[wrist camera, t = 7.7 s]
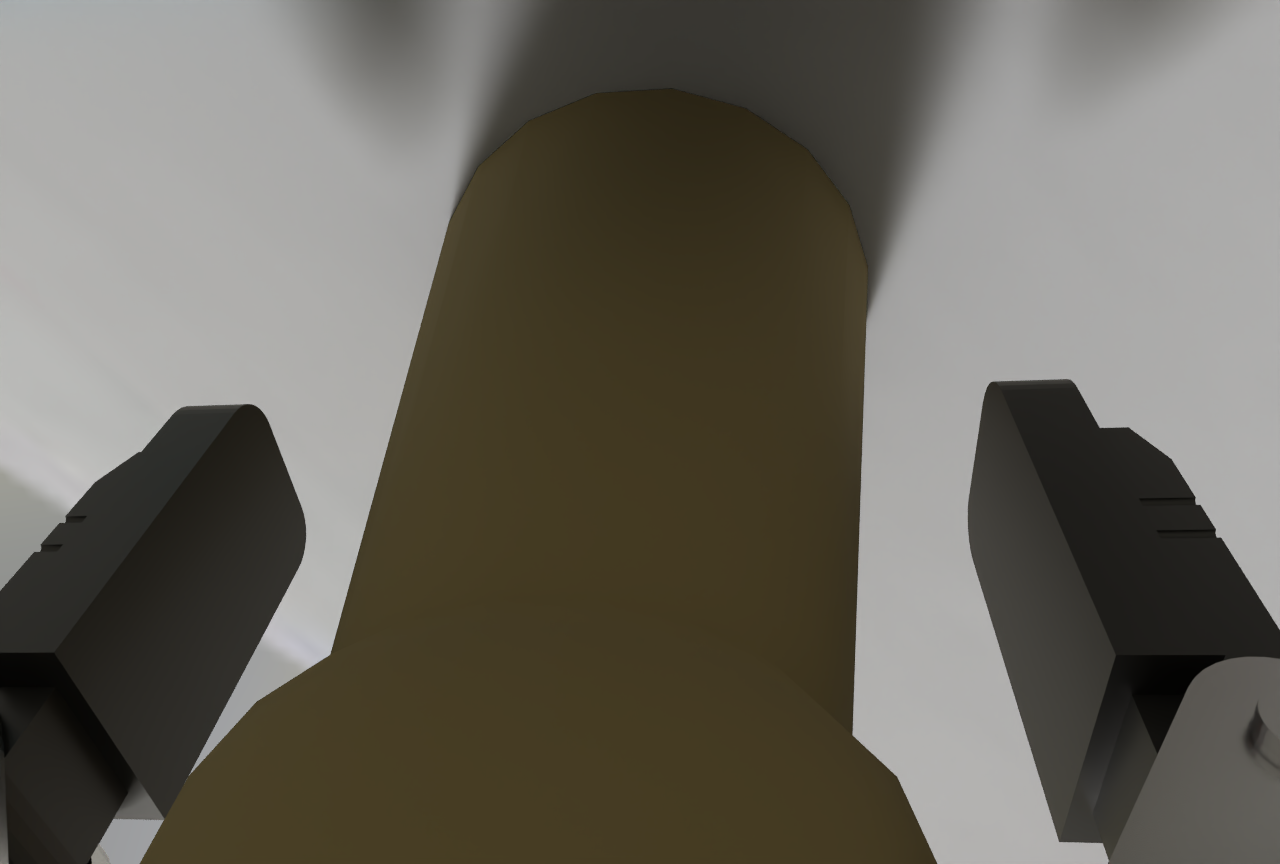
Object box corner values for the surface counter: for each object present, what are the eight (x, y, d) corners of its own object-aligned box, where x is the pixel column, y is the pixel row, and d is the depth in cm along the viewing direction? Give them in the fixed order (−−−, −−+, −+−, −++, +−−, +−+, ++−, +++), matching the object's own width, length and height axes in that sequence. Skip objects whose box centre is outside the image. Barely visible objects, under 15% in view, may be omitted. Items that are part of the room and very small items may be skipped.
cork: (430, 64, 12) (-574, 1066, 3) (917, 113, 11) (1550, 1339, 3) (450, 451, 15) (46, 1435, 6) (823, 493, 15) (954, 1560, 6)
